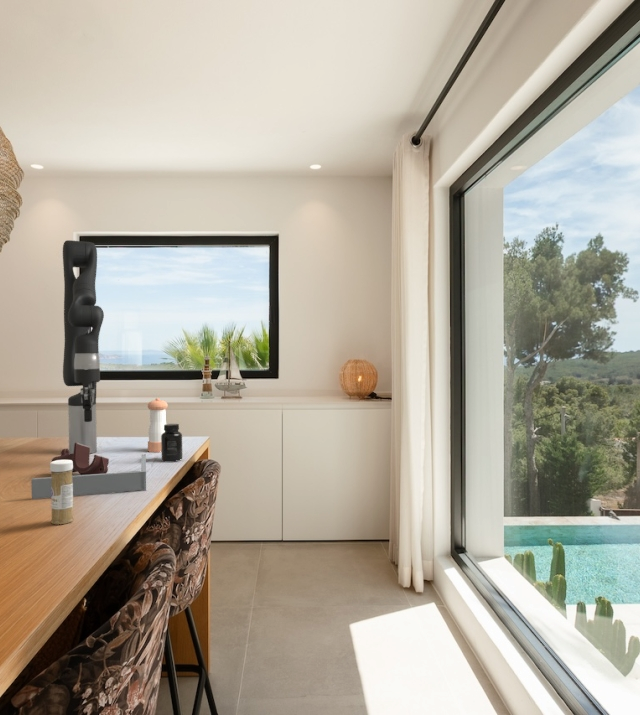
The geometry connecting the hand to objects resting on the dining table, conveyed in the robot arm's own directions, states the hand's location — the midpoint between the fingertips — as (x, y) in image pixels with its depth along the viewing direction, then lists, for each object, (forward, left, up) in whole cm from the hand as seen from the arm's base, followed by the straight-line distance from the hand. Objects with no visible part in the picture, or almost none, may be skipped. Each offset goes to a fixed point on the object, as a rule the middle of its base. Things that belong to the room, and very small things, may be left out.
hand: (88, 421), depth 183 cm
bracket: (+15, -1, -15) cm, 21 cm away
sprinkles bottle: (+61, 0, -14) cm, 63 cm away
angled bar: (+26, +4, -14) cm, 30 cm away
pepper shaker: (-19, +22, -14) cm, 32 cm away
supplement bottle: (0, +26, -14) cm, 30 cm away
